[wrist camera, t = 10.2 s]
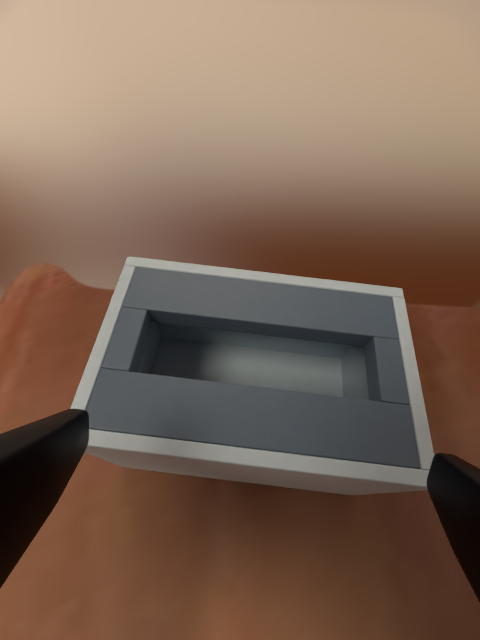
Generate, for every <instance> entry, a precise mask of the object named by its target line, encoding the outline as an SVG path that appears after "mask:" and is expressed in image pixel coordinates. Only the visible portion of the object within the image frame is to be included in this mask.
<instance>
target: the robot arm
mask: <svg viewBox="0 0 480 640" xmlns="http://www.w3.org/2000/svg"><path fill="white" fill-rule="evenodd" d="M88 442H89V414H88V412H87V411H86V410H82V409H74V408H73V409H68V410H65V411H63V412H60V413H57V414H54V415H52V416H49V417H46V418H43V419H41V420H38V421H35V422H32V423H30V424H27V425H24V426H21V427H19V428H16V429H13V430H10V431H8V432H5V433H2V434H0V588H1V587H2V585H3V584H4V582H5V581H6V579H7V578H8V576H9V575H10V573H11V572H12V570H13V569H14V567H15V566H16V564H17V563H18V561H19V560H20V558H21V557H22V555H23V554H24V552H25V551H26V549H27V548H28V546H29V545H30V543H31V542H32V540H33V539H34V537H35V536H36V534H37V533H38V531H39V530H40V528H41V527H42V525H43V524H44V522H45V521H46V519H47V518H48V516H49V515H50V513H51V512H52V510H53V508H54V507H55V505H56V504H57V502H58V500H59V498H60V497H61V495H62V493H63V491H64V489H65V487H66V486H67V484H68V482H69V480H70V478H71V476H72V474H73V472H74V471H75V469H76V467H77V465H78V463H79V461H80V459H81V457H82V456H83V454H84V452H85V450H86V448H87V445H88ZM426 484H427V490H428V492H429V495H430V497H431V500H432V502H433V504H434V507H435V509H436V511H437V514H438V516H439V519H440V521H441V523H442V526H443V528H444V531H445V533H446V535H447V538H448V540H449V542H450V545H451V547H452V549H453V551H454V554H455V556H456V558H457V560H458V562H459V564H460V566H461V568H462V570H463V571H464V573H465V575H466V577H467V579H468V581H469V583H470V585H471V587H472V589H473V591H474V593H475V594H476V596H477V598H478V600H479V602H480V469H479V468H477V467H475V466H474V465H472V464H470V463H468V462H466V461H464V460H463V459H461V458H459V457H457V456H455V455H452V454H444V453H437V454H436V455H435V456H434V457H433V460H432V463H431V467H430V470H429V473H428V476H427V482H426Z"/></svg>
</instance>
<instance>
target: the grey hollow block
mask: <svg viewBox="0 0 480 640" xmlns="http://www.w3.org/2000/svg"><path fill="white" fill-rule="evenodd" d="M73 408H74V409H82V410H86V411H87V412H88V414H89V442H88V445H87V448H86V450H85V452H84V453H87V454H90V455H92V456H95V457H98V458H100V459H103V460H105V461H108V462H111V463H113V464H116V465H118V466H121V467H124V468H132V469H140V470H148V471H156V472H164V473H173V474H181V475H189V476H197V477H205V478H213V479H221V480H230V481H238V482H246V483H254V484H262V485H270V486H278V487H287V488H295V489H303V490H311V491H319V492H327V493H335V494H344V495H364V494H378V493H392V492H407V491H421V490H427V484H426V482H427V476H428V473H429V470H430V467H431V463H432V460H433V457H434V451H433V446H432V441H431V436H430V430H429V425H428V420H427V415H426V409H425V404H424V399H423V394H422V389H421V383H420V378H419V373H418V368H417V362H416V357H415V352H414V347H413V341H412V336H411V331H410V326H409V320H408V315H407V310H406V305H405V300H404V296H403V291H402V289H401V288H394V287H385V286H377V285H367V284H359V283H351V282H343V281H334V280H326V279H325V280H324V279H317V278H309V277H300V276H291V275H283V274H274V273H266V272H257V271H248V270H241V269H232V268H223V267H215V266H205V265H198V264H189V263H181V262H172V261H164V260H155V259H147V258H138V257H127V260H126V262H125V266H124V268H123V270H122V273H121V276H120V278H119V281H118V283H117V286H116V289H115V291H114V294H113V297H112V299H111V302H110V305H109V307H108V310H107V312H106V315H105V318H104V320H103V323H102V326H101V328H100V331H99V334H98V336H97V339H96V342H95V344H94V347H93V350H92V352H91V355H90V357H89V360H88V363H87V365H86V368H85V371H84V373H83V376H82V379H81V381H80V384H79V387H78V389H77V392H76V394H75V397H74V400H73V402H72V405H71V408H70V409H73Z"/></svg>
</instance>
